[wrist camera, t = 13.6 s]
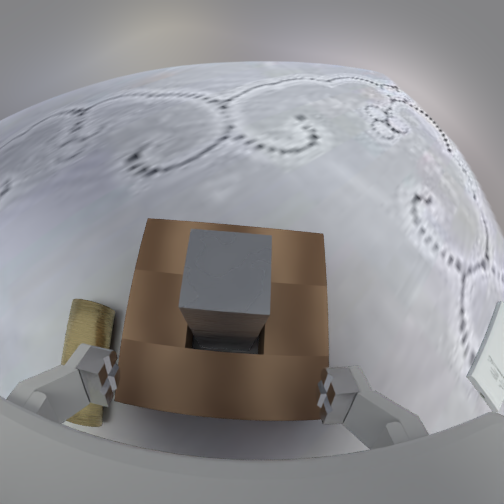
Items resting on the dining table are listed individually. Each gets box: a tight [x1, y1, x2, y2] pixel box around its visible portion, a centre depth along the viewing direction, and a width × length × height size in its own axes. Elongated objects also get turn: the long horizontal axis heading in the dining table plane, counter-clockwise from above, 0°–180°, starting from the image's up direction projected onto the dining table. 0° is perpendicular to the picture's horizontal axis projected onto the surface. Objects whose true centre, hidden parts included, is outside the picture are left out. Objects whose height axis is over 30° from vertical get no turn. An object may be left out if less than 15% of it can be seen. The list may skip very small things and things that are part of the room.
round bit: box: [61, 299, 115, 427], centre depth 19 cm, size 10×4×4 cm, turn 177°
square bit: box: [178, 229, 272, 351], centre depth 18 cm, size 4×4×12 cm
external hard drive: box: [466, 301, 504, 413], centre depth 23 cm, size 2×8×12 cm
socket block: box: [114, 218, 329, 421], centre depth 22 cm, size 15×15×4 cm
